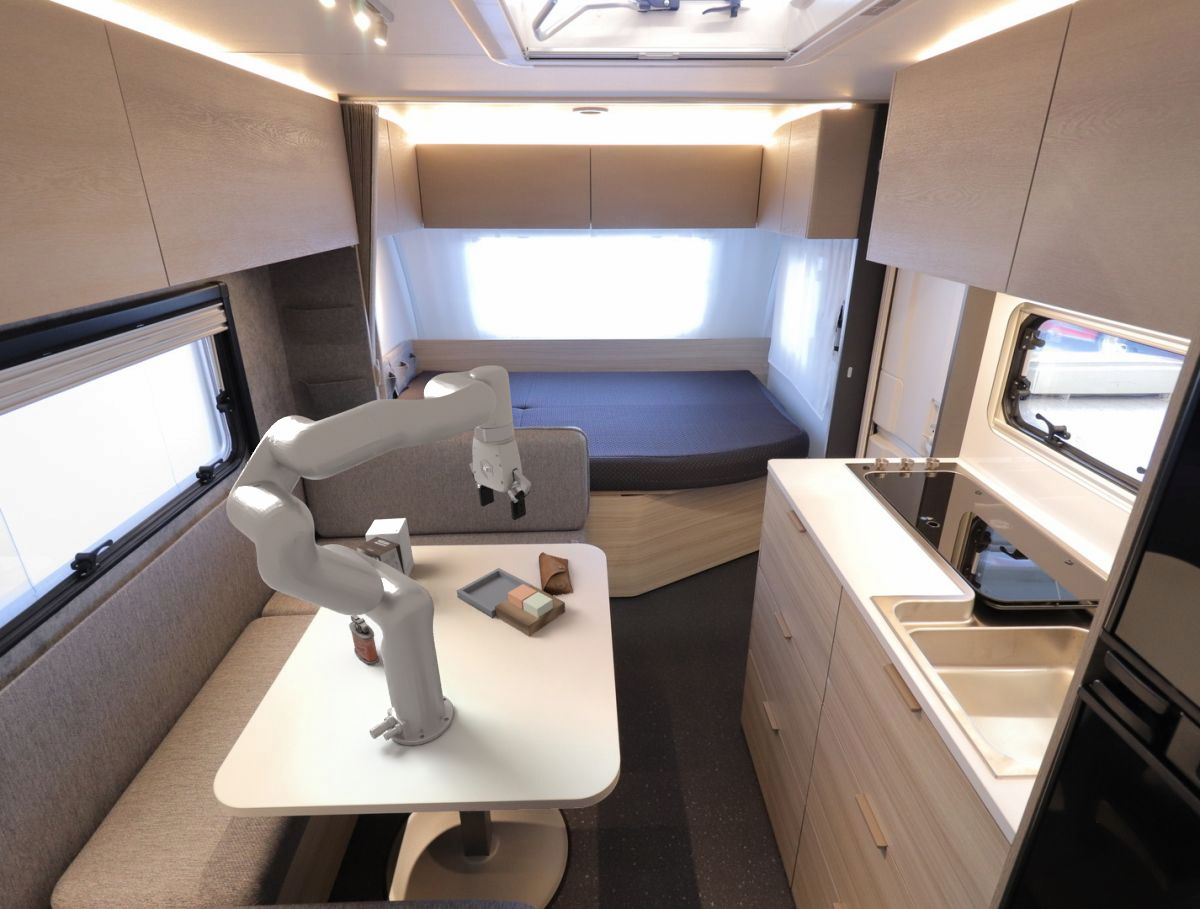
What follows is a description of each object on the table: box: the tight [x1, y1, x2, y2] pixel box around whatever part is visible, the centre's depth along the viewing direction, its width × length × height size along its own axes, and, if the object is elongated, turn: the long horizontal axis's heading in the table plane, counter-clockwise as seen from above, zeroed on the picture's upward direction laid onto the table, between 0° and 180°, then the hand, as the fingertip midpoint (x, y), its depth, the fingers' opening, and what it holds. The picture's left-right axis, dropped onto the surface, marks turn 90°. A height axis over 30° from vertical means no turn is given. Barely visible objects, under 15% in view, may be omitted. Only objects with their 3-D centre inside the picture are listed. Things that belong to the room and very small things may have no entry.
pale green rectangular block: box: [523, 592, 553, 618], centre depth 148 cm, size 5×5×2 cm
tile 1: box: [508, 584, 537, 609], centre depth 152 cm, size 5×5×2 cm
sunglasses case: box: [538, 552, 574, 596], centre depth 167 cm, size 18×7×7 cm
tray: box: [456, 567, 534, 619], centre depth 159 cm, size 14×14×2 cm
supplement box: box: [364, 517, 415, 577], centre depth 168 cm, size 9×9×15 cm
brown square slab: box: [495, 584, 566, 637], centre depth 151 cm, size 12×12×3 cm
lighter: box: [348, 615, 380, 667], centre depth 137 cm, size 8×3×10 cm, turn 47°
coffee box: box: [356, 537, 405, 575], centre depth 156 cm, size 9×6×16 cm
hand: (503, 510), depth 124 cm, fingers open, 9 cm apart
